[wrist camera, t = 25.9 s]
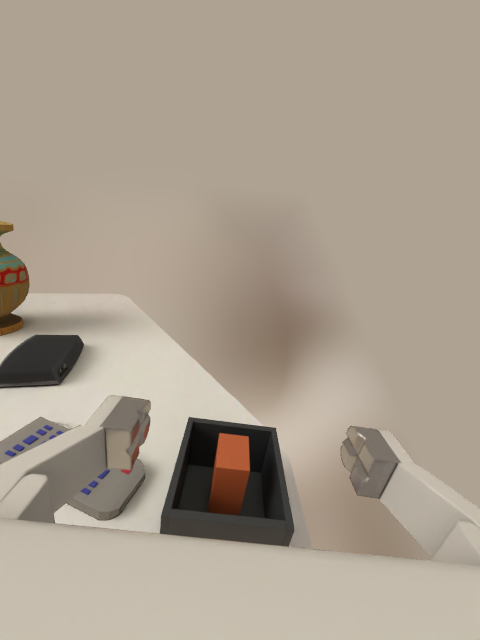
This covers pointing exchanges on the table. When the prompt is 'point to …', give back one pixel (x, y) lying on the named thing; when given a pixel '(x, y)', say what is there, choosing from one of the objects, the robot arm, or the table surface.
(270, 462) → the trash bin
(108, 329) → the table surface
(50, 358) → the hard drive
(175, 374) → the table surface
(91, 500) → the remote control
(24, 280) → the vase
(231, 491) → the orange rectangular block
